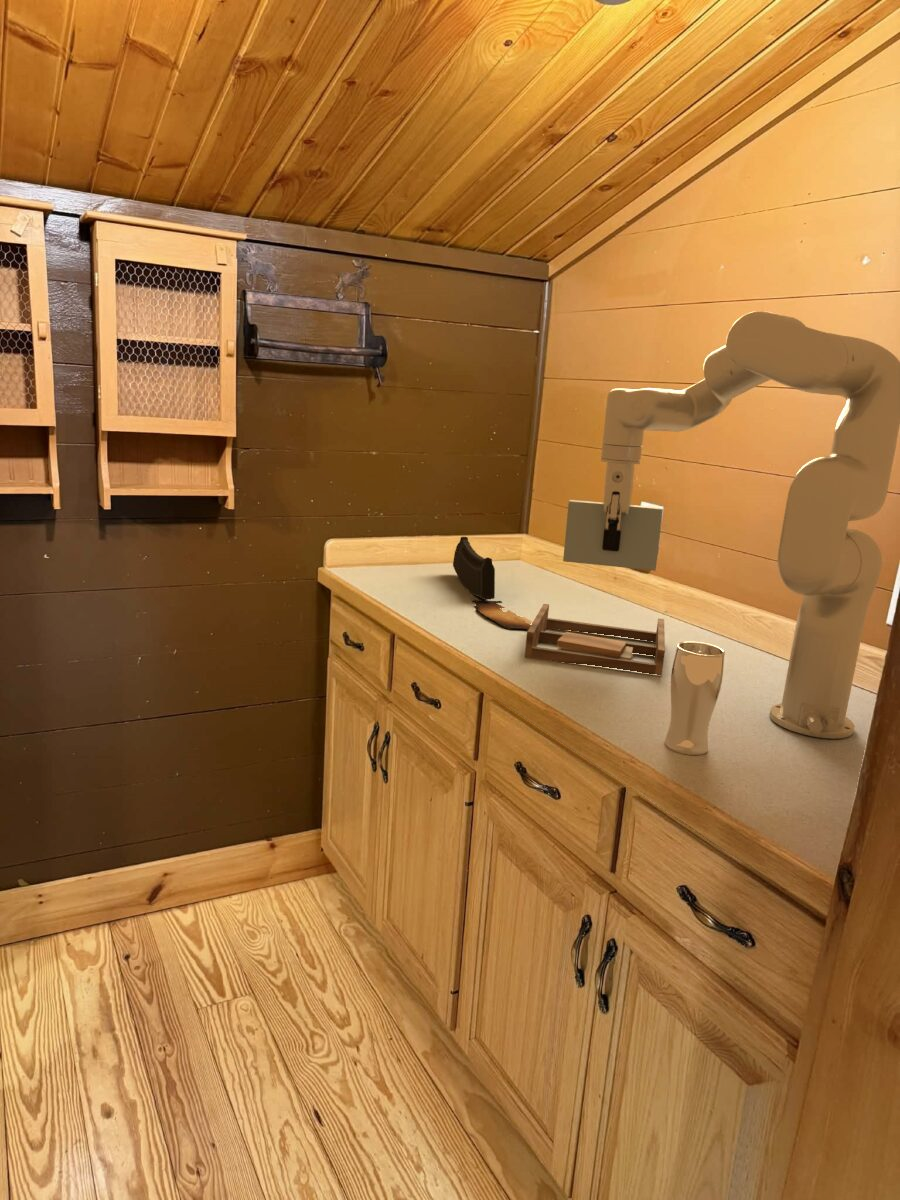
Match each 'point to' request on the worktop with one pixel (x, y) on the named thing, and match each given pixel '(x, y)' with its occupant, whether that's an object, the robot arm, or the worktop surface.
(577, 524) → the tall board
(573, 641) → the offcut stack
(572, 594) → the worktop surface
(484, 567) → the magazine
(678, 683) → the beer glass
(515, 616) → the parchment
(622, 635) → the rack
